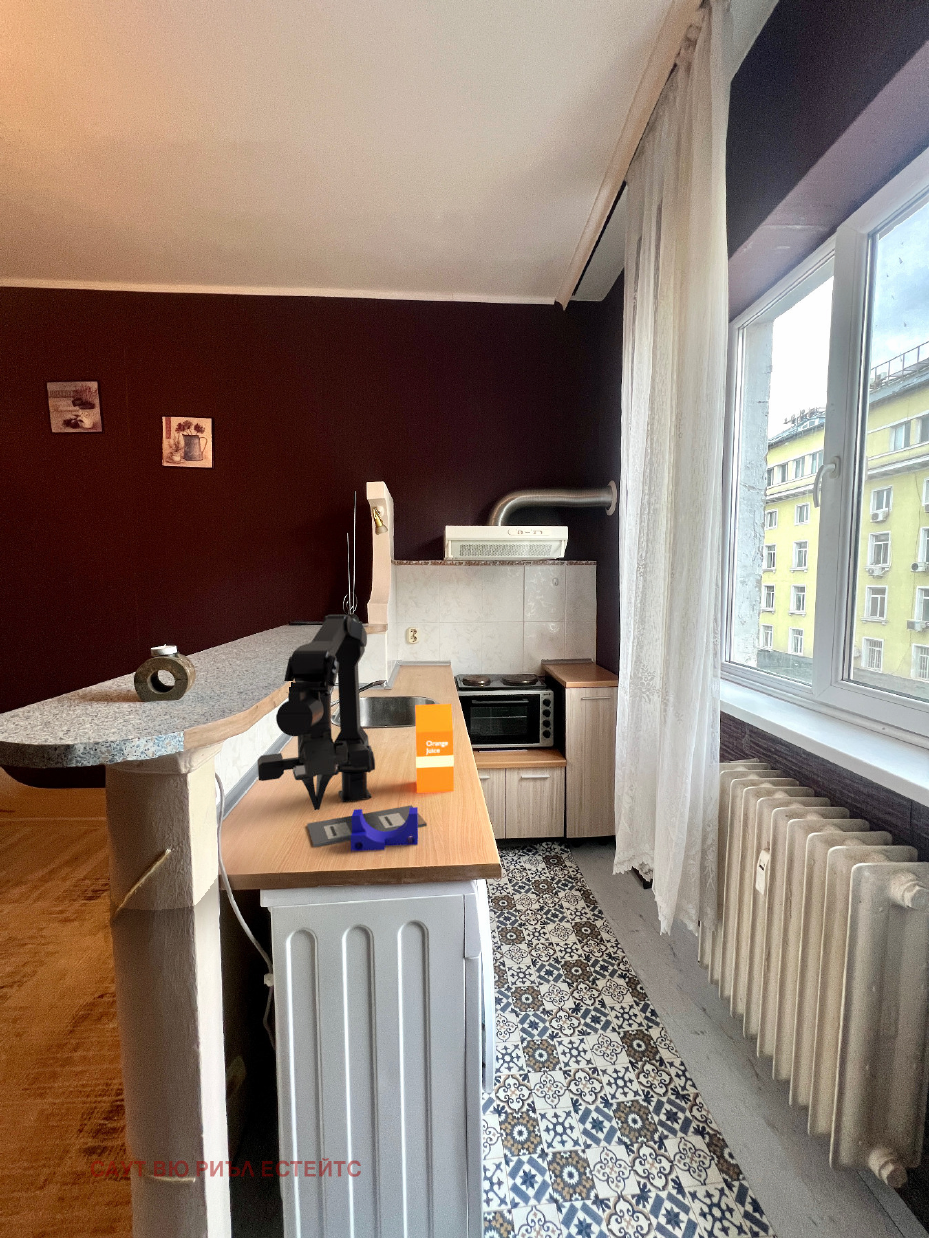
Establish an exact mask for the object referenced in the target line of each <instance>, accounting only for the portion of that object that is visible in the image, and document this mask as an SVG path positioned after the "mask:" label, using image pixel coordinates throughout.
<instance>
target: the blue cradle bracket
mask: <svg viewBox="0 0 929 1238" xmlns="http://www.w3.org/2000/svg"><path fill="white" fill-rule="evenodd" d="M418 811H419V810H418V807H415V806H413V807H412V808H410V809H409V815H408V818H407V820H406V821H405V822H404V824H403V825H402V826H400V827H399V828H397V829H395V830H393V831H388V832H384V831H378V830H376V829H374V828H372V827H371V826H370V825H369V824H368V823H367V822H366V821H365V819H364V817H363V814H364V813H363V809H361V808H359V809H356V808H355V809H353V812H352V815H351V816H352V834H351V840H350V852H361V851H365V852H366V851H385V849H386V847H389V846H392V847H393V846H395V847H396V846H415V845H416V846H417V845H418V842H419V827H418V813H419V812H418Z"/></svg>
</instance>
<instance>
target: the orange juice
mask: <svg viewBox="0 0 929 1238" xmlns="http://www.w3.org/2000/svg"><path fill="white" fill-rule="evenodd" d="M452 711H453V710H452V704H451V703H439V704H438V703H437V704H415V767H416V768H415V769H416V793H417V794H421V793H424V794H425V793H426V794H427V793H443V792H444V793H445V792H455V788H454V787H455V783H454V781H455V780H454V779H455V777H454V776H455V775H454V771H455V770H454V769H455V768H454V766H455V765H454V761H455V760H454V758H455V755H454V727H453V712H452Z"/></svg>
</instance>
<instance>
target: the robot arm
mask: <svg viewBox="0 0 929 1238" xmlns="http://www.w3.org/2000/svg"><path fill="white" fill-rule="evenodd" d="M367 644H368V635H367V631H366V629H365V627H364V625H363V624H361V623H360V622H357V621H355V620H353V619H352V618H351V616H350V615H347V614H328V615H325V616H324V618H323V624H322V625H321V626H320V628H319V630H318V631H317V633H316V634H315V635H314V637H313V638H312V640H311V641H310V642H309V643H304V644H302V645H299V646H298V647H297V648H296V649H294V651H293V652H292V654H291V655H290V656H289V657H288V660H287V661H288V662H287V666H286V670H285V675H284V679H283V682H284V681H293V682H291V687H289V692H288V694H287V696H288V697H287V698H288V699H287V701H284V702H283V703H282V704H281V705H280V706H279V708H278V710H277V711H276V715H275V720H276V724H277V727H278V728H279V730H280V731H281V732H282V733H284V734H285V735H287V736H289V737H297V756H296V757H289V758H283V754H282V753H281V752H278V753H271V754H263V755H260V756H259V757H258V759H257V775H258V776H257V777H258V781H261V782H262V781H263V782H264V781H266V782H267V781H272V780H279V779H281V777H282V776H284V773H285V771H290V770H292V774H293V777H294V780H295V781H301V782H302V783H303V785H304V786H305V789H306V790H307V793H308V795H309V798H310V799H309V800H310V801H311V804H312V807H313V810H314V811H319V810H320V809H321V805H322V803H323V799H324V796H325V792H326V789H327V787H328V785H329V782H330V781H331V779H332V778H333V777H334V776H338V775H339V773H341V790H338V795H339V798H340V800H341V801H342V802H343V803H348V802H353V801H354V802H355V801H360V800H366V799H371V798H372V794H371V793H370V791H369V790H368V779H367V778H368V776H367V775H368V773H371V772H372V771H374V770H376V760H375V754H374V751H373V749H372V746H371V745H369V744H370V741H369V736H368V734H367V732H366V731H365V730H364V728H363V727H362V726H361V707H360V706H361V705H360V702H361V701H360V679H359V664H360V661H361V659H362V657H363V655H364V654H365V652H366V651H365V650H366V649H365V648H366V646H367ZM336 682H337V684H338V685H337V687H338V689H337V691H338V701H339V702H338V703H339V705H338V707H339V708H338V709H339V710H338V711H339V726H340V727H339V729H340V731H339V733H338V734H337V736H336V737H335V739H334V738H333V736H332V702H331V700H332V699H331V697H332V696H331V691H332V689H333V687H336ZM315 777H316V784H315V782H314V781H315V780H314V778H315ZM315 786H316V787H315Z"/></svg>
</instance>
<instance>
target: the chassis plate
mask: <svg viewBox="0 0 929 1238" xmlns="http://www.w3.org/2000/svg"><path fill="white" fill-rule="evenodd" d="M412 807H414V806H413V805H405V806H398V807H394V808H387V809H383V810H377V811H371V812H366V813H363V817H364V819H365V821H366V822H367V823H368V824H369V825H370V826H371V827H372V828H374V829H376V830H378V831H384V832H388V831H393V830H395V829H397V828H399V827H400V826H402V825H403V824H404V822H405V821H406V820H407V818H408V815H409V809H410V808H412ZM306 825H307V829H308V832H309V835H310V839H311V843H312V846H313V848H318V847H324V846H327V845H328V846H329V845H334V844H338V843H339V844H340V843H344V842H349V841H350V842H351V834H352V815H349V816H343V817H337V818H332V819H325V820H319V821H312V822H309V823H308V822H307V824H306ZM427 825H428V823H427V822H426V820H424V818H423V817H422V816H421V814H420V813H419V812H418V828H421V827H427Z"/></svg>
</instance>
